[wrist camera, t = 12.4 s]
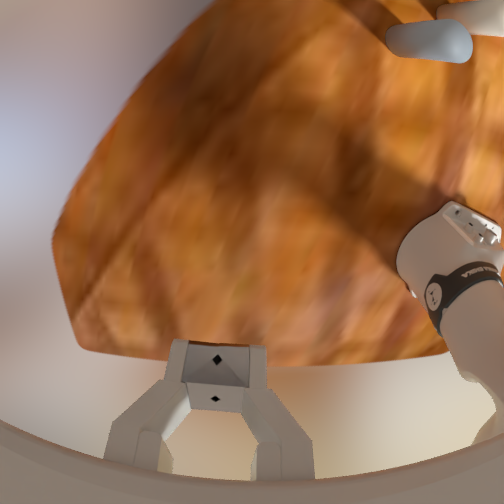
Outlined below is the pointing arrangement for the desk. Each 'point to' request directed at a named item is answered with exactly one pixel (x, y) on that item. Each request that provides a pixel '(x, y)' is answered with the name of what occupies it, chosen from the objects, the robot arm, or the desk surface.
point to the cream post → (476, 16)
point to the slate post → (431, 40)
